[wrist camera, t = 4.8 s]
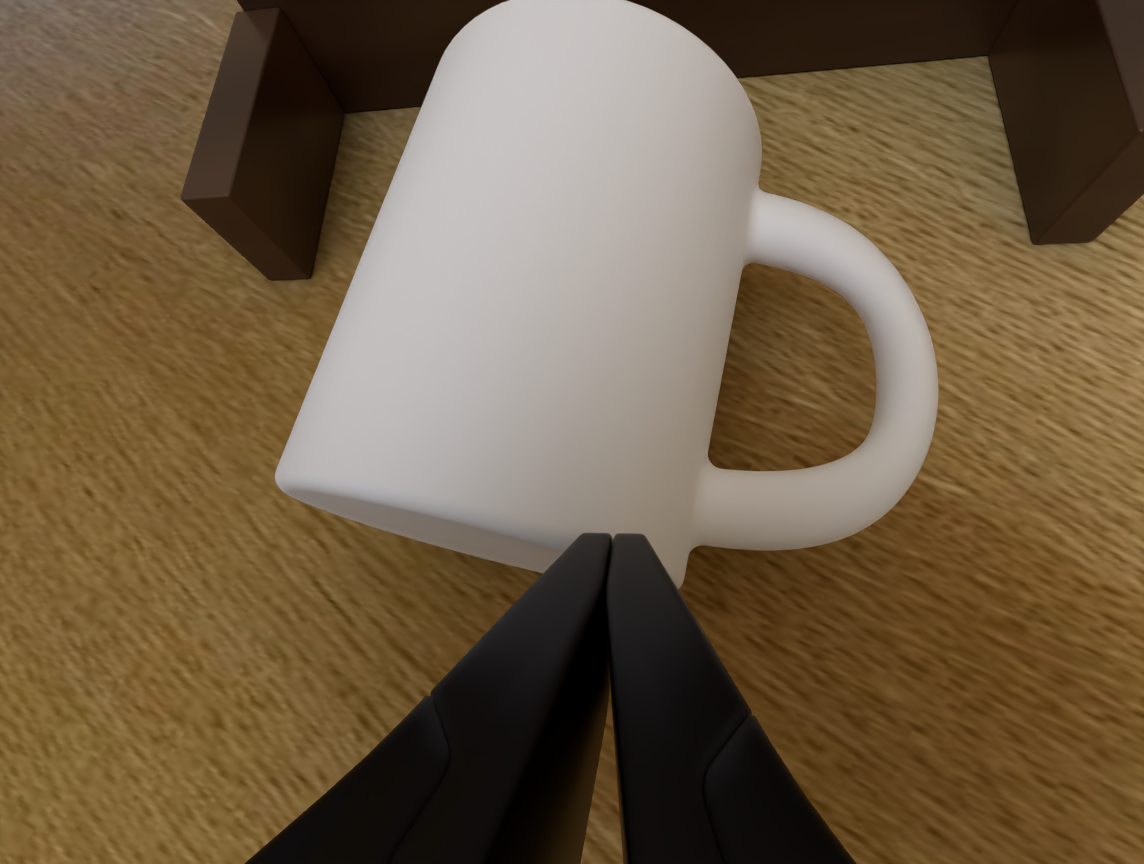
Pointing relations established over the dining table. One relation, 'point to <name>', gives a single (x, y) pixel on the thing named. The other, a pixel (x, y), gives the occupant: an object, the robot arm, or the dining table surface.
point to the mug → (587, 310)
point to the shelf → (724, 23)
